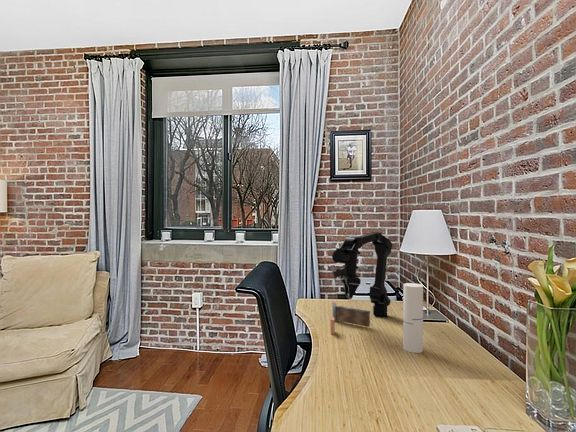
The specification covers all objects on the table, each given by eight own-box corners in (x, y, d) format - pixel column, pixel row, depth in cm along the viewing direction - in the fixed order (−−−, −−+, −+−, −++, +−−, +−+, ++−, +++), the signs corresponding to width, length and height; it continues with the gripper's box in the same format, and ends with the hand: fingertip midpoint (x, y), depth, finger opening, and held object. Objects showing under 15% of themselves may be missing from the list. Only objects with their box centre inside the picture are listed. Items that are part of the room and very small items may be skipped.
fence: (335, 315, 169) (335, 301, 169) (340, 334, 142) (340, 317, 142) (328, 315, 170) (328, 300, 170) (330, 334, 143) (330, 317, 143)
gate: (336, 320, 159) (336, 306, 159) (338, 319, 161) (338, 305, 161) (368, 327, 150) (368, 312, 150) (369, 325, 152) (369, 311, 152)
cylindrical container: (424, 353, 123) (424, 287, 123) (404, 352, 125) (404, 286, 124) (420, 346, 130) (421, 283, 130) (402, 344, 132) (402, 282, 131)
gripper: (330, 260, 164) (328, 291, 163) (337, 263, 145) (334, 298, 144) (353, 262, 164) (350, 293, 163) (362, 265, 145) (359, 301, 144)
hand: (348, 296), depth 153 cm, fingers open, 9 cm apart
